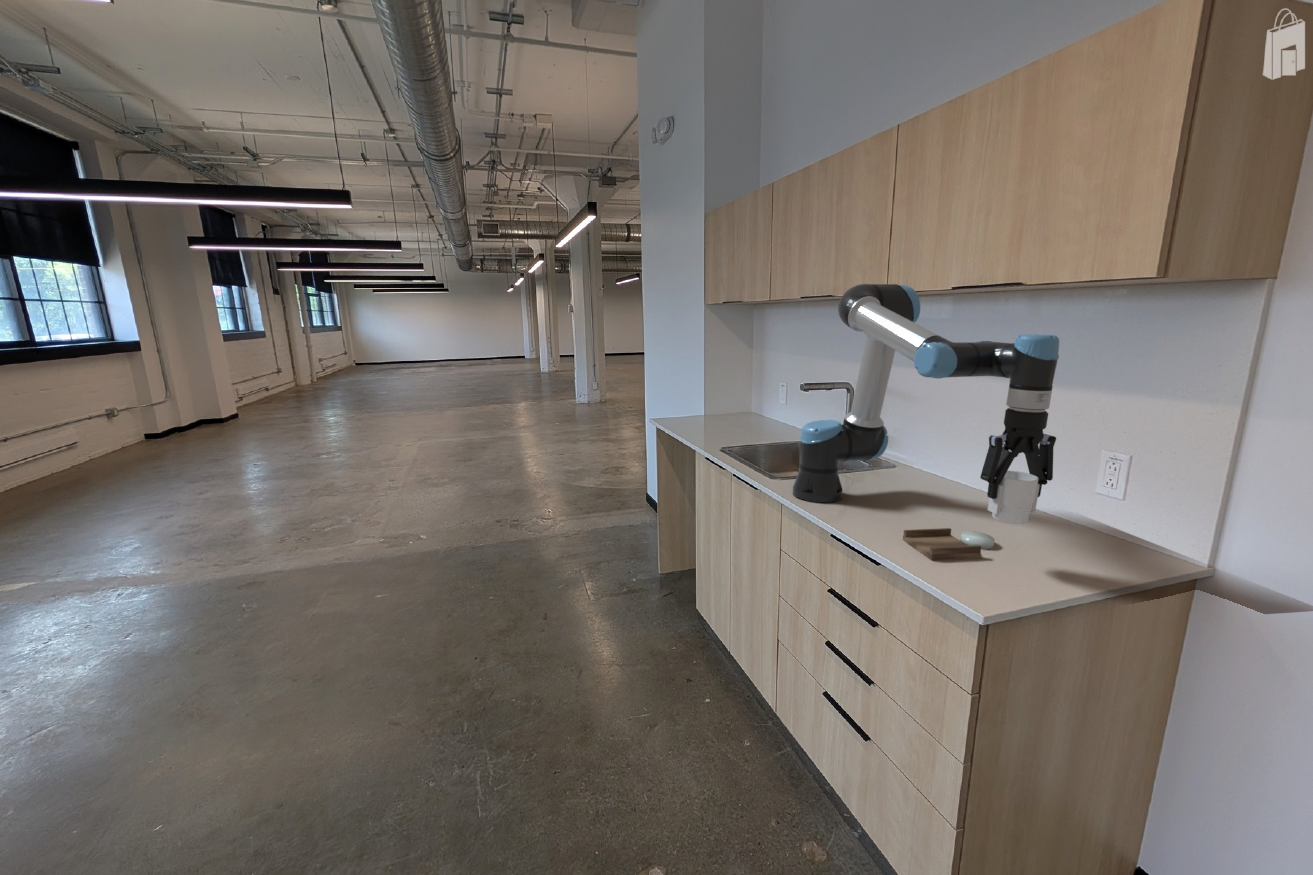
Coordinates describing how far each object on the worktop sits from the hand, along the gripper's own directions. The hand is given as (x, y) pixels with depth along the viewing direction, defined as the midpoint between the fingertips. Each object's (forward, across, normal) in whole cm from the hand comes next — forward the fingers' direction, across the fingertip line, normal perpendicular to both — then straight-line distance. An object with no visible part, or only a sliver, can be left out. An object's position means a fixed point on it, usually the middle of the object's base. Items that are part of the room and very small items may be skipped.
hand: (1011, 511), depth 118 cm
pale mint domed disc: (+13, +2, +11) cm, 17 cm away
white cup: (+2, 0, 0) cm, 2 cm away
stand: (+13, -9, +9) cm, 18 cm away
